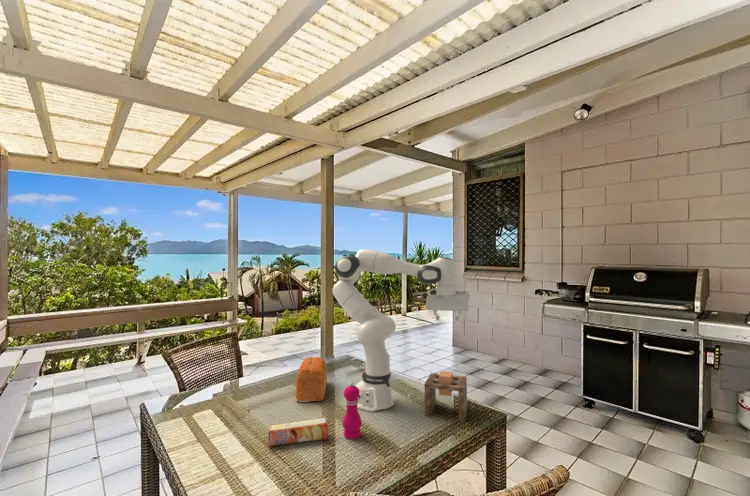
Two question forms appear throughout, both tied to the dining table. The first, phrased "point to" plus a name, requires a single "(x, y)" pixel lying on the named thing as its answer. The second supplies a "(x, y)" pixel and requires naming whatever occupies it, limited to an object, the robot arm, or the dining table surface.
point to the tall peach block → (445, 382)
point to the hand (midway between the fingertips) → (447, 320)
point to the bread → (311, 380)
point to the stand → (456, 385)
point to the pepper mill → (351, 413)
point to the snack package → (298, 432)
